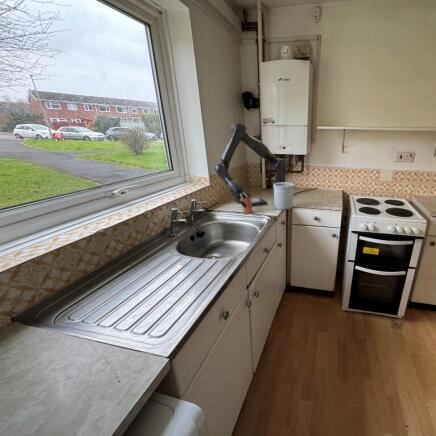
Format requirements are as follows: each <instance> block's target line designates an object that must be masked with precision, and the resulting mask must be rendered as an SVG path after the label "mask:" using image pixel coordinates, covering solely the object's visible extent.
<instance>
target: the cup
mask: <svg viewBox="0 0 436 436" xmlns="http://www.w3.org/2000/svg"><path fill="white" fill-rule="evenodd" d="M251 199H252V197H251V198H250V197H245V198H243V202H244V203H245V204H246V205H247V207H246V208H244V207H243V206H242V212H243V214H252V213H253V207H252V202H251Z"/></svg>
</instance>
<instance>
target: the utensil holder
mask: <svg viewBox="0 0 436 436" xmlns="http://www.w3.org/2000/svg"><path fill="white" fill-rule="evenodd" d="M272 186H273V201H274V202H273V203H274V209H277V210H283V211H284V210H285V211H286V210H290V209H293V206H294V195H293V194H294V183H292V182H287V181H286V182H280V183H275V182H274V183H273V185H272Z"/></svg>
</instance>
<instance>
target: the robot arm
mask: <svg viewBox="0 0 436 436" xmlns="http://www.w3.org/2000/svg"><path fill="white" fill-rule="evenodd" d="M230 133H231V135H232V137H231V139H230V140H229V142H228V143H227V145H226V146H225V148H224V149H223V152H222V154H221V156H220V163H216V164H215V165H214V171H215V174H217V176H219V178H221V180H222V181H223V182H224V184H225V185H226V187H227V188H228V190H229V191H230V192H231V193H232V195H233V197H232V199H233V200H234V201H235V202H236V203H237V204H238V205H241V206H242V208H243V207H244V208H246V207H247V205H246V204H245V203H244V202H243V198H246V197H250V198H251V199H252V196H251V195H250V193H249V192H248V191H246V192H245V191H244V189H243V187H242V186H241V184H240V183H239V182H238V181H237V180H236V179H235V178H234V177H233V175H231V173H229V169H230V164H231V161H232V159H233V157H234V154H235V153H236V150H237V148H238V146H239V144H240V143H241V142H242V143H244V144H245V145H246V146H247V147H248V148H249V149H251V150H252V151H253V152H254V153H255V154H257V156H259V157H261V158H262V159H264V160H265V161H266V162H267V163H269V165H270V166H271V167H272V168H273V169H275V170H276V173H275V174H274V184H275V183H280V182H287V181H286V180H287V179H286V178H287V177H286V176H287V173H288V172H287V171H288V170H287V167H288V166H287V161H286V160H285V159H283V158H279V157H277V156H275V154H273V153H272V151H271V150H270V149H269V147H268V146H267V145H266V144H264V142H262V140H260V139H257V138H256V137H254V136H252V135H250V134H249V133H248V132H247V127H246V125H245V124H244V122H243V123H242V122H237V123H234V124H232V125H231V126H230ZM313 190H314V191H315V190H317V188H316V187H315V188H311V189H310V188H309V189H306V190H301V191H297V192H295V193H293V196H294V195H297V194H300V193H302V192H309V191H313ZM251 202H252V201H251ZM252 205H253V202H252Z"/></svg>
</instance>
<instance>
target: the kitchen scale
mask: <svg viewBox="0 0 436 436" xmlns="http://www.w3.org/2000/svg"><path fill="white" fill-rule="evenodd" d="M251 201H252V202H253V205H252V208H254V207H260V206H267V205H268V201H266V200H265V199H263V198H261V197H258V198H251Z"/></svg>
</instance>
